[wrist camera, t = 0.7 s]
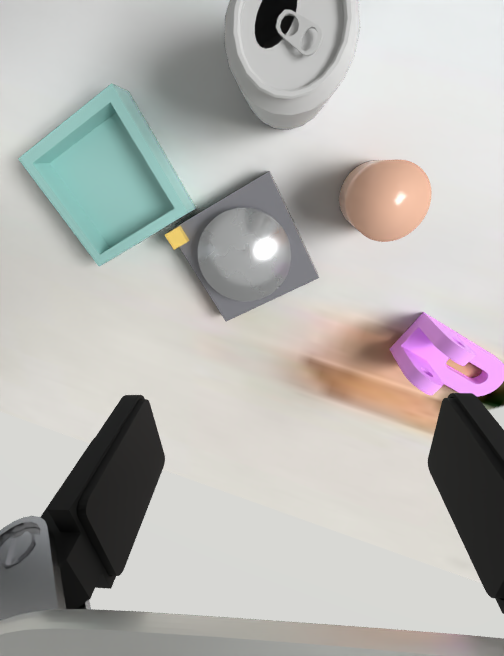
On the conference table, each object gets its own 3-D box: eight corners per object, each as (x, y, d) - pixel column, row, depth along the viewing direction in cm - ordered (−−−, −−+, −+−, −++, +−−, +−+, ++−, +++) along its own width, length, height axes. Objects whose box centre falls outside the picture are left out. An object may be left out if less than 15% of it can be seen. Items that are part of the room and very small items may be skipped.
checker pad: (264, 188, 29) (263, 189, 28) (305, 273, 33) (306, 277, 31) (182, 235, 32) (179, 237, 31) (229, 310, 35) (227, 315, 34)
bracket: (388, 348, 38) (409, 384, 32) (422, 311, 36) (452, 342, 29) (472, 396, 40) (507, 438, 34) (509, 364, 38) (554, 404, 32)
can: (275, -5, 25) (271, -131, 14) (352, 59, 26) (401, -12, 16) (226, 96, 28) (193, 55, 17) (297, 148, 29) (307, 140, 19)
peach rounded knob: (393, 146, 29) (418, 143, 23) (412, 209, 31) (440, 219, 26) (329, 181, 30) (339, 186, 25) (352, 239, 33) (366, 254, 27)
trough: (128, 91, 28) (111, 83, 26) (196, 208, 32) (188, 212, 30) (41, 159, 31) (18, 158, 29) (113, 258, 35) (98, 266, 33)
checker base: (269, 170, 30) (268, 171, 28) (316, 271, 34) (319, 280, 32) (172, 228, 34) (163, 234, 31) (226, 315, 38) (222, 325, 35)
